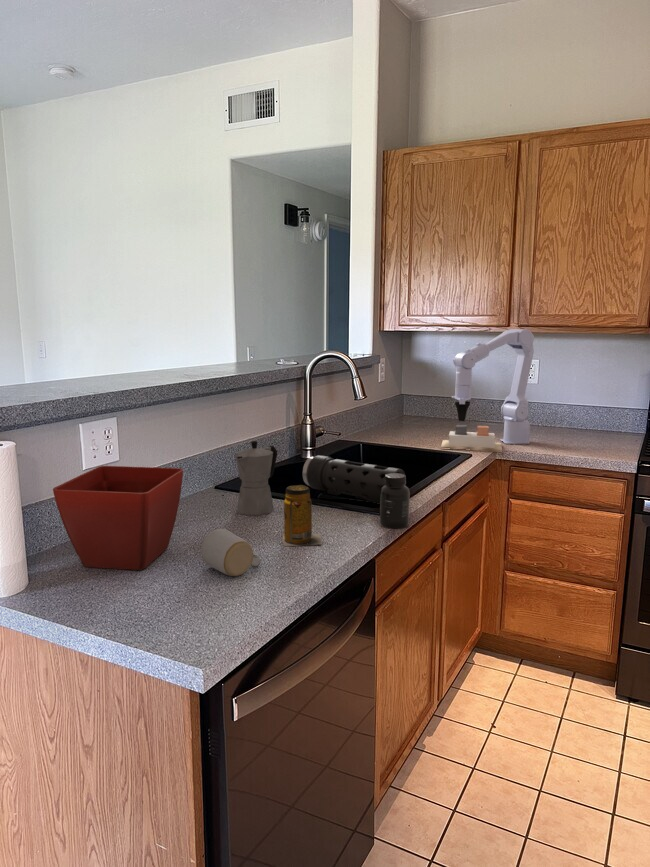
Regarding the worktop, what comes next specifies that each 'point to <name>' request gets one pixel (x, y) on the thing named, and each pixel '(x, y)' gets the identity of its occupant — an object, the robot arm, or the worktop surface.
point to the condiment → (298, 518)
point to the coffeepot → (255, 479)
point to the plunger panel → (471, 440)
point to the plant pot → (120, 514)
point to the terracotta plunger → (483, 431)
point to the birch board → (496, 447)
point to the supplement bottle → (394, 502)
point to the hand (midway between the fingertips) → (461, 420)
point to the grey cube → (461, 429)
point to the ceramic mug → (228, 553)
